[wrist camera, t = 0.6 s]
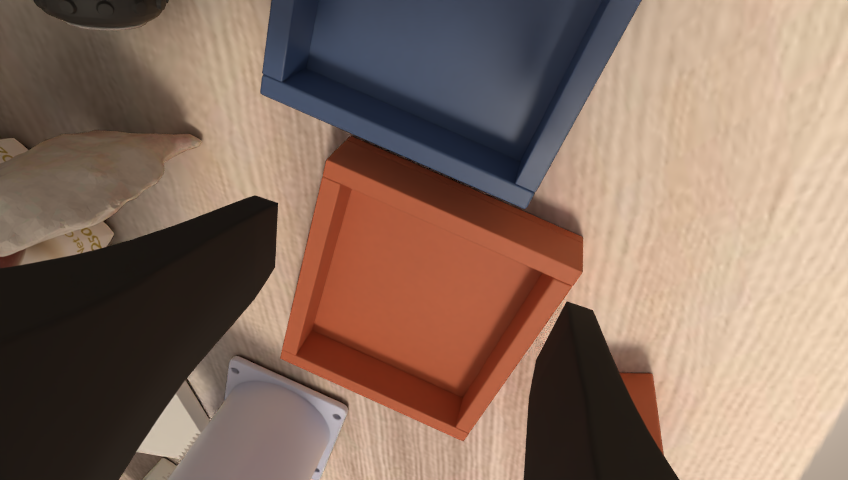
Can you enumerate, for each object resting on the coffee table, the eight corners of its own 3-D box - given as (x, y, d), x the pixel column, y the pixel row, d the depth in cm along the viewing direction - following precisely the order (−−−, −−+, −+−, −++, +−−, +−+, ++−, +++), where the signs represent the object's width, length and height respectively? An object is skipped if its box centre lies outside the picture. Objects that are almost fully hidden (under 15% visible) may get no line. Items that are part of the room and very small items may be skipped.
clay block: (656, 435, 26) (666, 521, 22) (565, 430, 28) (562, 510, 24) (652, 372, 24) (664, 456, 20) (554, 371, 26) (549, 448, 22)
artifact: (199, 113, 23) (4, 226, 15) (215, 168, 24) (46, 299, 16) (69, 110, 24) (-178, 212, 16) (91, 162, 26) (-125, 281, 17)
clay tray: (472, 403, 28) (463, 441, 26) (301, 326, 29) (279, 358, 27) (583, 236, 21) (583, 272, 19) (350, 135, 21) (325, 158, 19)
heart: (82, 245, 28) (221, 466, 38) (97, 234, 29) (229, 453, 39) (-154, 244, 34) (19, 432, 45) (-136, 235, 35) (30, 422, 46)
